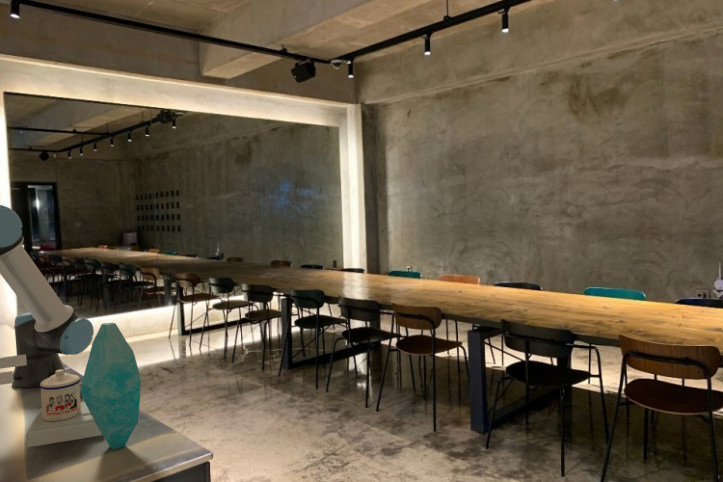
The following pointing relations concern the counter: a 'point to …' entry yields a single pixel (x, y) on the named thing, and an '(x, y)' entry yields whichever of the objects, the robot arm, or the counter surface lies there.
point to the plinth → (62, 428)
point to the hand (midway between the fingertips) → (19, 368)
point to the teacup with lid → (60, 396)
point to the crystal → (112, 385)
